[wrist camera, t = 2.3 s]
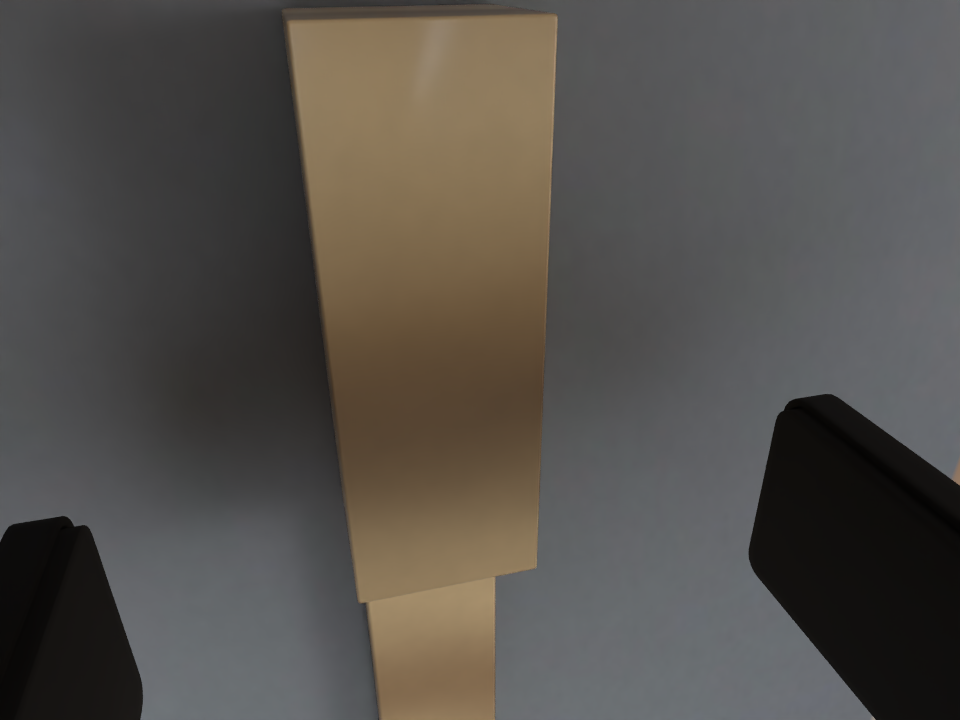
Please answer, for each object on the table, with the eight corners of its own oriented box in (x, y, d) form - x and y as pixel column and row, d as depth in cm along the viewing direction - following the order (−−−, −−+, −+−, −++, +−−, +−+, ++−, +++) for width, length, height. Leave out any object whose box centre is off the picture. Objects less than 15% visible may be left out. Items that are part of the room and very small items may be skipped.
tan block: (281, 8, 10) (285, 19, 8) (492, 3, 11) (559, 13, 9) (376, 764, 19) (393, 886, 17) (493, 734, 20) (526, 848, 17)
